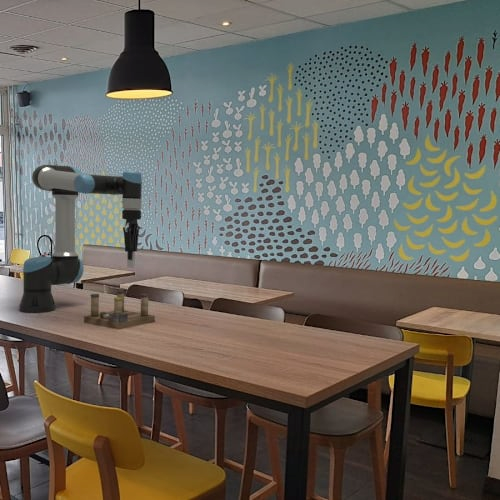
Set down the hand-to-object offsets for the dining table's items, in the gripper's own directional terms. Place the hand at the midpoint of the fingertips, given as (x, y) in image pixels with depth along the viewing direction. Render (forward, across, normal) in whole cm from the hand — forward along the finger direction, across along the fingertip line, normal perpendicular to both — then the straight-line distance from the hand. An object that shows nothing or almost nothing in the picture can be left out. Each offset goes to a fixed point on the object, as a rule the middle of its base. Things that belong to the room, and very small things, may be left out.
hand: (130, 267), depth 235 cm
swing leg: (+20, +9, -5) cm, 22 cm away
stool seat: (+22, +1, -4) cm, 23 cm away
